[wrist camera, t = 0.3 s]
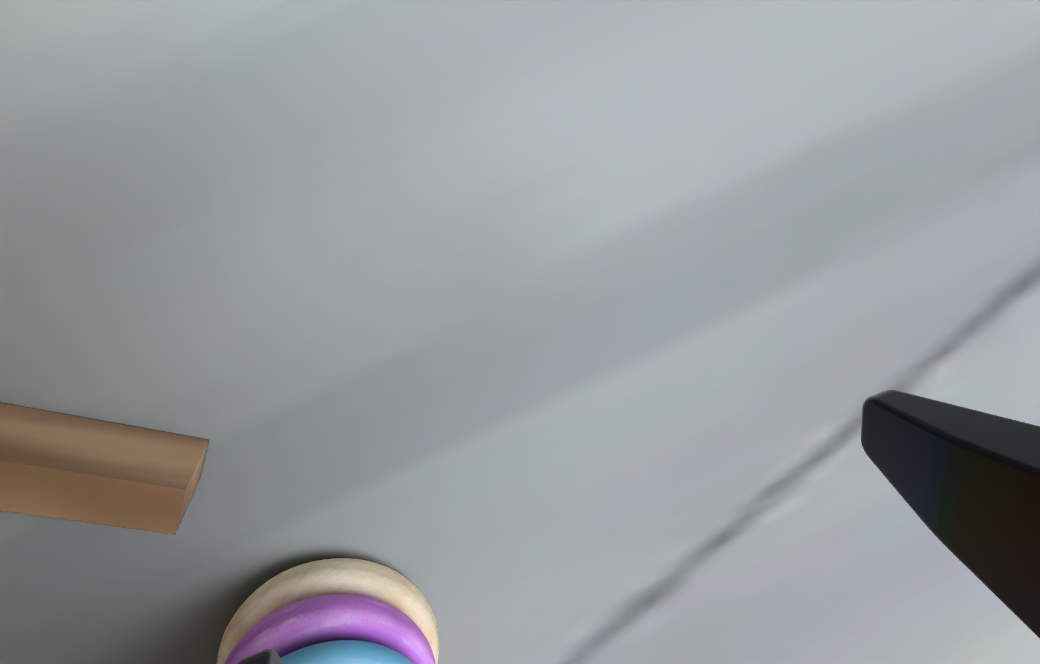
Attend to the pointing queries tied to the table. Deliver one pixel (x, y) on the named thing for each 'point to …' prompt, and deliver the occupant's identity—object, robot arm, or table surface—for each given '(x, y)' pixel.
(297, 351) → the table surface
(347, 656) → the stacking toy
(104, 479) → the u rest
